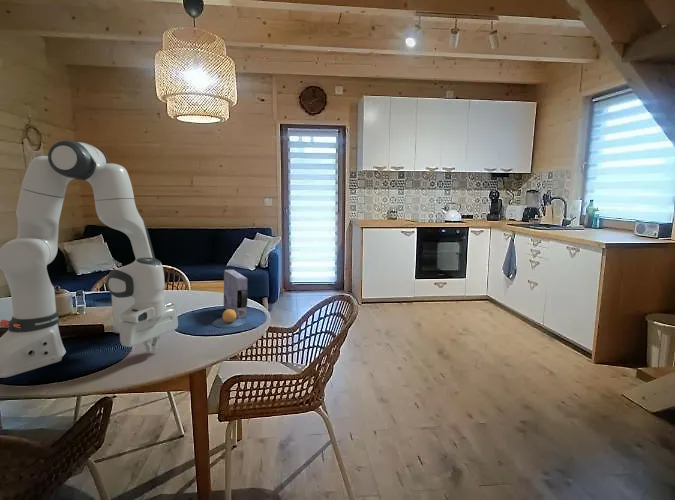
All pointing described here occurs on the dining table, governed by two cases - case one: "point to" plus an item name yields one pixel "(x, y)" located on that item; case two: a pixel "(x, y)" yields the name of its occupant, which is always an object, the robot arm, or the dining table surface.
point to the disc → (223, 324)
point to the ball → (229, 315)
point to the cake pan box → (235, 293)
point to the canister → (120, 309)
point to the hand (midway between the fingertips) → (151, 350)
